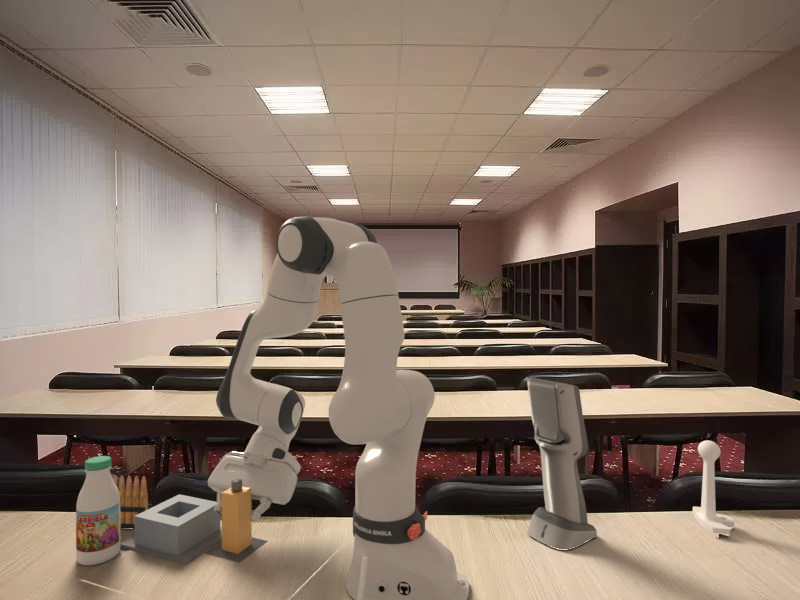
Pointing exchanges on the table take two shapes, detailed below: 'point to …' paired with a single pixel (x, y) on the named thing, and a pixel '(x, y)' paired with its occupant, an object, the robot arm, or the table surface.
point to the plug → (236, 517)
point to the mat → (236, 557)
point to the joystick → (710, 492)
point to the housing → (176, 529)
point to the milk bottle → (98, 514)
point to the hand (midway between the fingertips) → (234, 516)
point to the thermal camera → (559, 464)
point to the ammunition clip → (131, 500)
